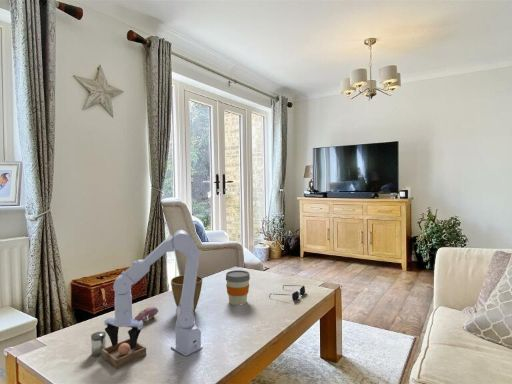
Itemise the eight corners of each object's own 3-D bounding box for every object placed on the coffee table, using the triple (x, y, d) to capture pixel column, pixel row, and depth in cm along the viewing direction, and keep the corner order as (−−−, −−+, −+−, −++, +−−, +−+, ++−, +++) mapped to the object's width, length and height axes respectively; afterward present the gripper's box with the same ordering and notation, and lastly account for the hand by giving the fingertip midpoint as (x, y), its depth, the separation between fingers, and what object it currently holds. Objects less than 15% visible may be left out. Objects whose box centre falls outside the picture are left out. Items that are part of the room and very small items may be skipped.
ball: (132, 352, 117) (132, 341, 116) (125, 358, 113) (125, 347, 112) (122, 350, 118) (122, 340, 117) (115, 356, 114) (115, 345, 114)
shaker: (108, 352, 117) (108, 334, 117) (94, 358, 114) (94, 339, 113) (102, 348, 120) (102, 330, 120) (89, 353, 117) (88, 335, 117)
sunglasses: (293, 303, 165) (292, 294, 165) (269, 302, 173) (267, 292, 173) (306, 293, 180) (305, 284, 180) (282, 292, 188) (281, 284, 188)
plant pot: (164, 314, 151) (164, 281, 150) (185, 304, 164) (185, 273, 163) (189, 321, 144) (188, 286, 143) (208, 309, 157) (208, 277, 157)
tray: (146, 355, 116) (146, 347, 116) (116, 368, 107) (116, 360, 107) (130, 345, 123) (130, 337, 123) (101, 357, 114) (101, 349, 114)
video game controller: (138, 327, 141) (142, 315, 139) (132, 320, 143) (136, 308, 141) (157, 319, 149) (161, 308, 147) (151, 313, 151) (155, 301, 149)
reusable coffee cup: (251, 298, 172) (251, 270, 172) (248, 307, 160) (248, 277, 159) (228, 297, 174) (228, 269, 173) (223, 306, 161) (223, 276, 161)
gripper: (147, 306, 117) (148, 343, 117) (113, 303, 120) (114, 338, 121) (136, 314, 110) (136, 353, 110) (100, 310, 113) (100, 348, 114)
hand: (124, 346), depth 115 cm, fingers open, 7 cm apart
